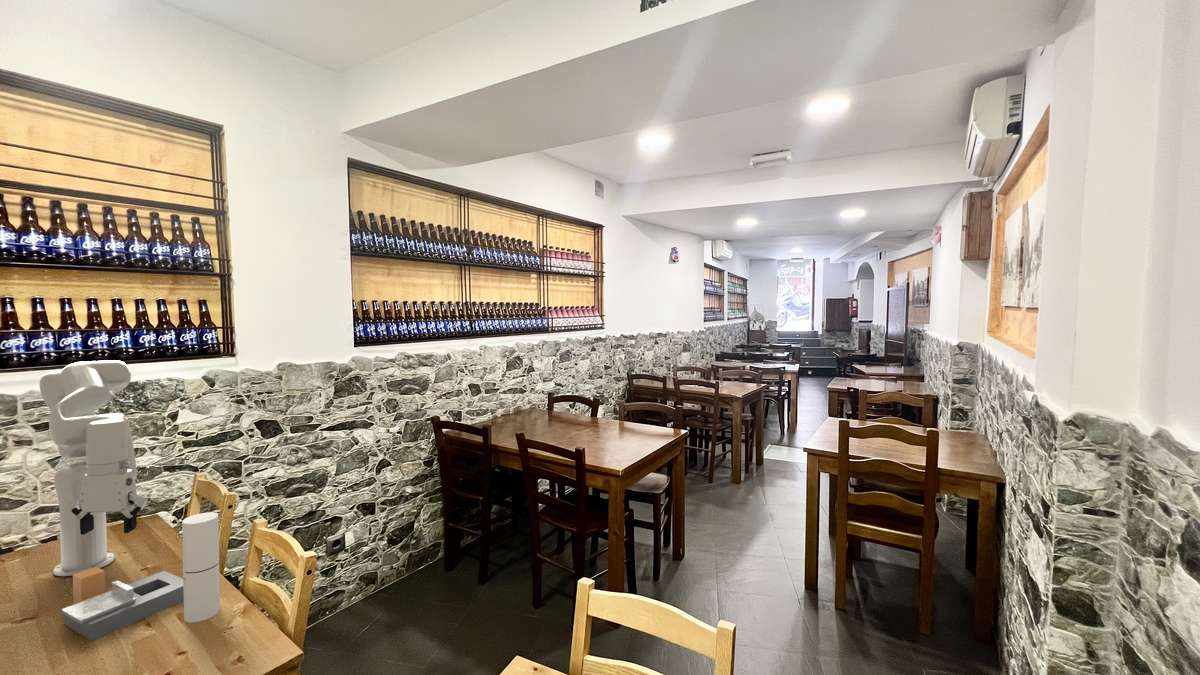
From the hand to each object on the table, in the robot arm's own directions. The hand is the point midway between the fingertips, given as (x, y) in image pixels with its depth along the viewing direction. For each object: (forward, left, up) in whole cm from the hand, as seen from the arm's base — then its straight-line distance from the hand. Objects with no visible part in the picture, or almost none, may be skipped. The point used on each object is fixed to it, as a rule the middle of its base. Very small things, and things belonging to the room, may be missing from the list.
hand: (108, 531), depth 128 cm
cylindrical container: (+26, +8, -20) cm, 33 cm away
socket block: (+8, +1, -20) cm, 21 cm away
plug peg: (-6, -2, -20) cm, 21 cm away
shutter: (+8, -5, -16) cm, 18 cm away
